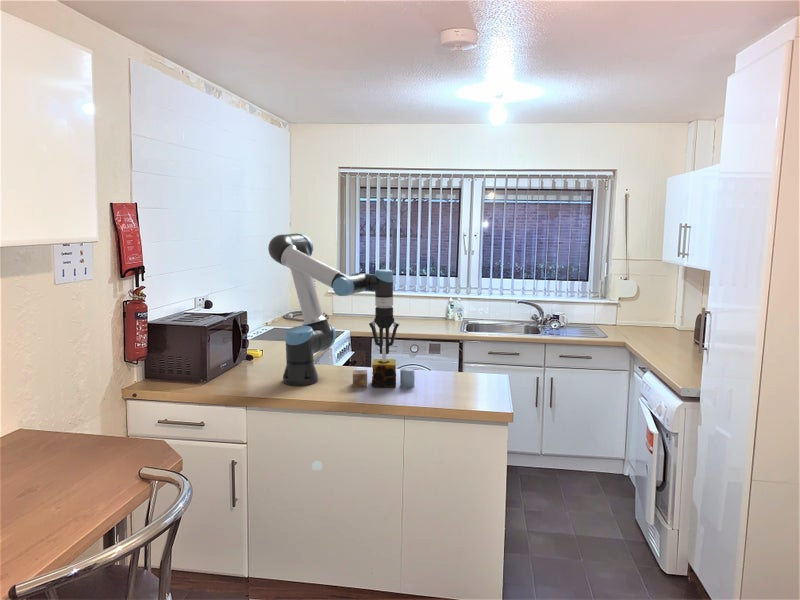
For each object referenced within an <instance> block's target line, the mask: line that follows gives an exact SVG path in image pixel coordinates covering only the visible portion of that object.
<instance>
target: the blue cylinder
mask: <svg viewBox="0 0 800 600" xmlns="http://www.w3.org/2000/svg"><path fill="white" fill-rule="evenodd" d="M399 371H400V373H399V374H400V376H399V377H400V379H399V382H400V383H399V385H400V388H403V389H413V388H415V378H416V377H415V373H416V372H415V368H409V367H406V368H401V369H399Z"/></svg>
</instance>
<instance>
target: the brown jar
mask: <svg viewBox="0 0 800 600" xmlns="http://www.w3.org/2000/svg"><path fill="white" fill-rule="evenodd" d="M359 388H360V389H363V388H365V389H367V388H368V370H367V369H360V370H359V369H356V370H355V369H353V370H352V389H359Z"/></svg>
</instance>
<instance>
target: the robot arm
mask: <svg viewBox="0 0 800 600" xmlns="http://www.w3.org/2000/svg"><path fill="white" fill-rule="evenodd" d="M267 249H268V254H269V256H270V258H272V260H273V261H275V262H277V263H279V264H280V265H282V266H285V267H287V268H288V269H289V270H290V272H291V276H292V278H293V283H294V286H295V287H294V288H295V291H296V294H297V299H298V303H299V306H300V310H301V314H302V317H303V322H302V323H301V325H298V326H294V327H291V328H289V329H287V331H286V333H285V339H284V340H285V341H284V342H285V356H286V357H285V358H286V359H285V361H286V365H285V367H284V370H283V371H284V372H283V375H282V383H284V384H285V385H288V386H296V387H297V386H310V385H314V384H315V383H317V382H318V381H319V375H318V371H317V369H316V366H315V363H314V361H315V360H314V354H316V353H319V352H321V351H326V350H327V349H329V348H331V347H332V346H333V345H334V344H335V342H336V339H337V333H336V329H335V327H334V326H333V325H332V324H331V323H329V322H328V318H327V317H325V316H323V312H322V308H321V305H320V301H319V297H318V293H317V289H316V286H315V282H314V280H316V281H317V282H320V283H322V284H323V285H326V286H328V287H330V289H331V288H332V290H333V292H334V294H335V295H337V296H339V297H347V296H350V295H353V294H358V293H361V292H363V293H364V292H371V293H374V292H375V293H374V298H375V299H374V300H375V301H374V302H375V303H374V304H375V308H374V309H375V311H374V312H375V313H374V314H375V316H374V319H373V320H372V321H370V322H369V324H368V325H369V327H370V329H371V332H372V337H373V340H374V344H375V345H376V346H379V354H380V355H381V359H382V362H386V361H387V359H388V354H390V346H393V345H394V343H395V338H396V334H397V330H398V327H399V326H400V322H397V321H395V318H394V307H393V306H394V272H393V271H392V269H386V268H385V269H375V271H374V273H363V272H353V273H352V274H351V275H348V274H345V273H344V272H342V271H340V270H338V269H336V268H334V267H331V266H330V265H328V264H326V263H324V262H322V261H320V260H318V259H316V258H314V257H313V256H312V255H313V252H314V244H313V242H312V240H311V238H309V236H307V235H306V234H303V233H296V232H295V233H289V234H288V233H287V234H278V235H275V236H273V237H272V238H271V240H270V241H269V243H268V248H267ZM392 325H393V326H392ZM376 326H377V327H378V328H379V329H378V331H379V332H377V329H376ZM391 327H393V329H392V333H391V338H390V328H391ZM384 331H385V345H384ZM378 333H379V335H378Z"/></svg>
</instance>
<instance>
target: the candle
mask: <svg viewBox="0 0 800 600" xmlns="http://www.w3.org/2000/svg"><path fill="white" fill-rule="evenodd" d="M396 361H397V360H396V359H395V358H387V361H386V362H382V358H374V359H373V360H372V366H371V367H372V375H371V377H372V378H371V387H372V388H375V389H376V388H378V389H379V388H381V389H383V388H393V389H394V388H396V387H397V370H396V369H397V368H396V365H397V364H396Z"/></svg>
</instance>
